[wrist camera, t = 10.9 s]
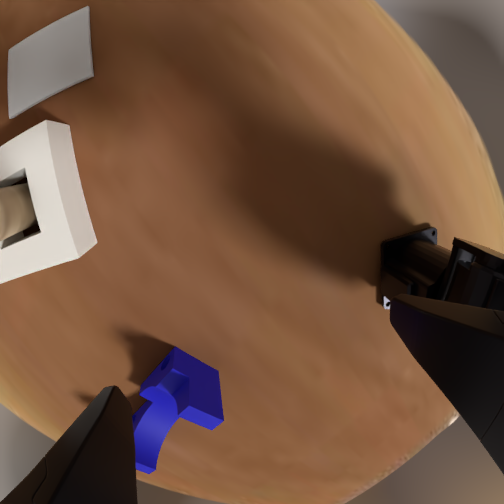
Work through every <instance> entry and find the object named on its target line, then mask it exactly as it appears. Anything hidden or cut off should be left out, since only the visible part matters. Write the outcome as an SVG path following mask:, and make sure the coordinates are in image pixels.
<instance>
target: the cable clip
mask: <svg viewBox="0 0 504 504" xmlns="http://www.w3.org/2000/svg"><path fill="white" fill-rule="evenodd" d="M139 395H140V396H142V397H144V398H146V399H147V401H146V402H145V403H144V404H143V405H142V406H141V407H140V409H139V410H138V411H137V412H136V413H135V414H134V415H133V416H132V420H133V431H134V440H135V454H136V469H137V470H139V471H142V472H145V473H147V474H150V473H151V472H153V471H155V470H156V464H157V459H158V454H159V451H160V448H161V445H162V443H163V441H164V439H165V437H166V435H167V433H168V431H169V430H170V428H171V427H172V425H173V424H174V423H175V422H176V420H177V419H178V418H179V417H182V418H184V419H186V420H188V421H191V422H193V423H195V424H198V425H200V426H203V427H205V428H207V429H210V430H213V429H214V428H215V427H217V426H218V425H219V424H221V423H222V422H223V421H224V416H223V408H222V400H221V391H220V381H219V372H218V371H217V370H216V369H214V368H212V367H210V366H208V365H207V364H205V363H203V362H201V361H199V360H198V359H196V358H194V357H192V356H191V355H189V354H187V353H186V352H184V351H182V350H181V349H179V348H177V347H176V346H175V347H174V348H173V349H172V350H171V352H170V353H169V354H168V355H167V356H166V357H165V358H164V360H163V361H162V362H161V363H160V364H159V365H158V366H157V368H156V369H155V370H154V371H153V372H152V373H151V374H150V376H149V377H148V378H147V379H146V380H145V381H144V382H143V384H142V385H141V388H140V393H139Z"/></svg>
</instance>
